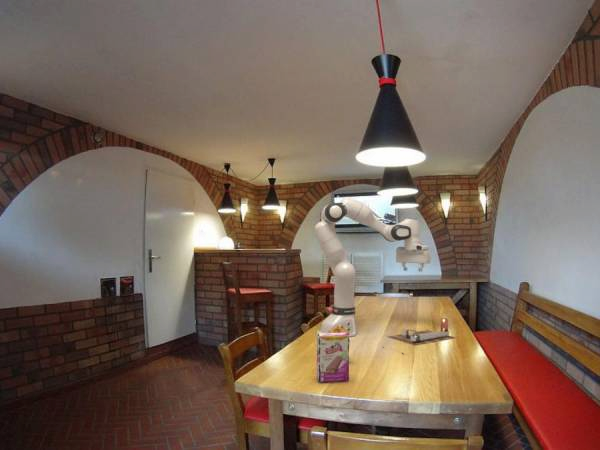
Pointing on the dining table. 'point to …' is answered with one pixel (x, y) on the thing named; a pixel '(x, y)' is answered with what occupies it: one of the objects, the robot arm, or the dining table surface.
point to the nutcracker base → (404, 338)
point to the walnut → (411, 333)
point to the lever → (443, 332)
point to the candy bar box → (332, 357)
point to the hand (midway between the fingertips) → (412, 271)
